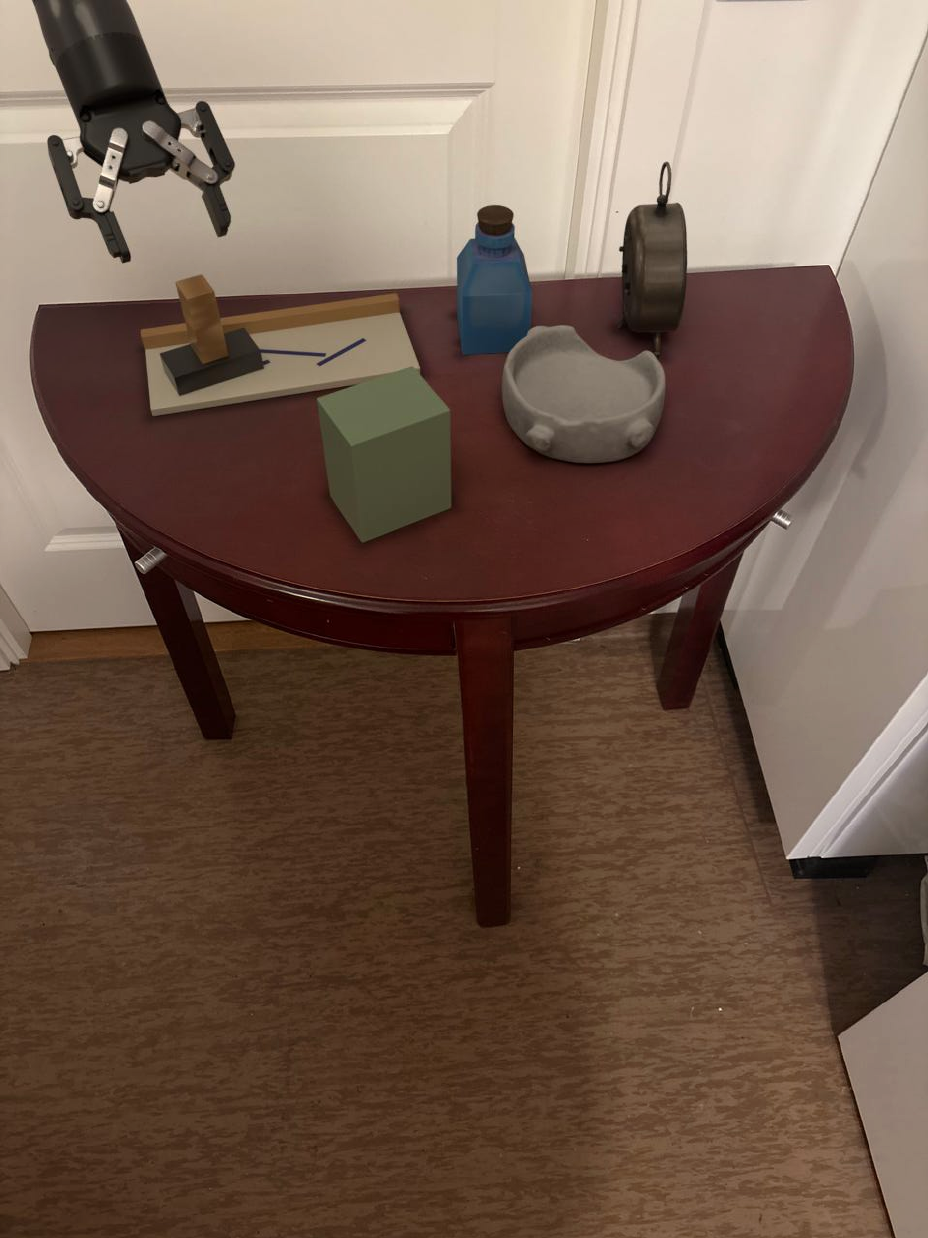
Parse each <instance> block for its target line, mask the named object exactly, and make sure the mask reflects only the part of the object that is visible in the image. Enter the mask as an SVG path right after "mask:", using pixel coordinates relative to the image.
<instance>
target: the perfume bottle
mask: <svg viewBox="0 0 928 1238" xmlns="http://www.w3.org/2000/svg"><path fill="white" fill-rule="evenodd" d="M514 216H515V215H514V211H513V210H512V209H511V208H509V207H507V206H505V205H500V204H490V205H486V206H482V207H481V208H479V210H478V211H477V212H476V217H477V223H476V224H475V228H474V238H469V239H468V241H467V242H466V244H465V245H464V246H463V248H462V250H461V251H460V253H459V254H458V255H457V257H456V310H457V311H456V317H457V318H456V319H457V325H458V333H459V339H460V347H461V355H463V356H464V355H467V356H468V355H485V354H487V355H488V354H504V353H505V354H506V353H507V354H509V352H510V351H511V349H513V348H514V346H515V345H516V344H517V343H518V342H519V341H520V340H521V339H523V338H524V337H526V336H527V333H528V331H529V330H530V329H531V319H532V318H531V317H532V301H533V291H532V286H531V282H530V276H529V273H528V267H527V263H526V258H525V254H524V252H523V250H522V249H521V248H522V247H520V244H519V243H518V241H517V239H516V237H515V234H516V233H515V232H516V226H515V224H514V223H513V220H514Z"/></svg>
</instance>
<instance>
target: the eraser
mask: <svg viewBox="0 0 928 1238" xmlns="http://www.w3.org/2000/svg"><path fill="white" fill-rule="evenodd" d="M175 288H176V290H177V295H178V299H179V302H180V303H179V304H180V307H181V311H182V314H183V319H184V323H186V327H187V331H188V335H189V339H190V343H191V344H188V345H185V346H182V347H179V348H175V349H172V350H169V351H166V352H162V353H160V358H161V361H162V365H163V368H164V372H165V373H166V375H167V377H168V378H169V380H170V382H171V383H172V385H173V386H174V388H175V390H176V391H177V393H178V395H179V396H180V395H183V394H186V393H189V392H193V391H196V390H199V389H202V388H205V387H208V386H211V385H214V384H217V383H220V382H223V381H226V380H229V379H233V378H236V377H239V376H242V375H245V374H248V373H251V372H254V371H257V370H260V369H263V368H264V366H263V361H262V355H261V350H260V349H259V347H258V346H257V345H256V343H255V342H254V340H253V339H252V338H251V336H250V335H249V334H248V332H247V331H246V329H245V328H244V327H243V328H240V329H237V330H233V331H230V332H227V333H223V329H222V324H221V320H220V318H221V315H220V310H219V307H218V302H217V297H216V294H215V293H216V292H215V290H214V289H213V287H212V286H211V285H210V283H209V282H208V281H207V279H206V278H205V276H204V275H203V274H201V273H200V274H197V275H194V276H189V277H186V278H183V279H180V280H176V281H175Z"/></svg>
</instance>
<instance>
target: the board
mask: <svg viewBox="0 0 928 1238" xmlns="http://www.w3.org/2000/svg"><path fill="white" fill-rule="evenodd" d="M220 320H221V324H222V329H223V333H227V332H230V331H233V330H237V329H240V328H243V327H244V328H245V329H246V331H247V332H248V334H249V335H250V336H251V338H252V339H253V340H254V342H255V343H256V345H257V346H258V347H259V349H260V350H261V355H262V361H263V366H264V368H263V369H260V370H257V371H254V372H251V373H248V374H245V375H242V376H239V377H236V378H233V379H229V380H226V381H223V382H220V383H217V384H214V385H211V386H208V387H205V388H202V389H199V390H196V391H193V392H189V393H186V394H183V395H180V396H179V395H178V393H177V391H176V390H175V388H174V386H173V385H172V383H171V382H170V380H169V378H168V377H167V375H166V373H165V372H164V368H163V365H162V361H161V358H160V353H162V352H166V351H169V350H172V349H175V348H179V347H182V346H185V345H188V344H191V343H190V339H189V335H188V331H187V327H186V323H185V322H183V323H177V324H171V325H169V324H168V325H162V326H156V327H148V328H142V329H140V338H141V341H142V344H143V348H144V352H145V364H146V365H145V366H146V375H147V386H148V395H149V396H148V397H149V408H150V413H151V415H152V417H157V416H158V417H159V416H164V415H170V414H171V415H172V414H177V413H178V414H179V413H183V412H191V411H196V410H202V409H203V410H204V409H209V408H214V407H222V406H228V405H234V404H242V403H247V402H254V401H259V400H266V399H273V398H279V397H286V396H292V395H298V394H304V393H305V394H306V393H311V392H317V391H324V390H331V389H337V388H342V387H351V386H355V385H358V384H361V383H364V382H366V381H369V380H372V379H375V378H378V377H381V376H384V375H387V374H390V373H393V372H396V371H399V370H402V369H405V368H408V367H411V366H413V367H414V368H415V369H416V370H417V372H418V373H419V374H420V375H421V366H420V364H419V360H418V358H417V355H416V353H415V350H414V347H413V345H412V341H411V338H410V336H409V334H408V333H409V332H407V331H408V330H407V329H406V325H405V322H404V320H403V317H402V315H401V307H400V298H399V295H398V293H397V292H393V293H387V294H380V295H379V294H378V295H373V296H366V297H365V296H364V297H358V298H352V299H351V298H350V299H344V300H338V301H330V302H324V303H317V304H309V305H303V306H294V307H288V308H282V309H275V310H266V311H261V312H253V313H248V314H240V315H233V316H226V317H220Z"/></svg>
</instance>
